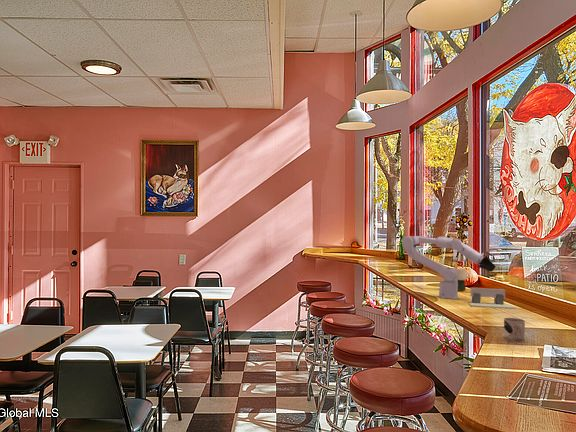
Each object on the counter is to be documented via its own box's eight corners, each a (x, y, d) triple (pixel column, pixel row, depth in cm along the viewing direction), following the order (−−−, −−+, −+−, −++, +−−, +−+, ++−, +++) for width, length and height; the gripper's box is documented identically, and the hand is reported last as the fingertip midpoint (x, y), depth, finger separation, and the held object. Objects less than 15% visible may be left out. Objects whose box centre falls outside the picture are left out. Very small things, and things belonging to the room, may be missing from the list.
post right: (497, 305, 234) (497, 295, 234) (494, 303, 240) (494, 293, 240) (503, 305, 234) (503, 295, 234) (500, 303, 239) (500, 293, 240)
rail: (471, 296, 238) (471, 288, 238) (470, 295, 241) (470, 287, 241) (505, 298, 235) (505, 290, 235) (503, 297, 238) (503, 289, 238)
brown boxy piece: (474, 303, 236) (474, 293, 236) (471, 301, 242) (471, 292, 242) (480, 304, 236) (480, 294, 236) (477, 302, 242) (478, 292, 242)
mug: (500, 335, 170) (501, 317, 170) (519, 336, 170) (519, 318, 170) (513, 342, 160) (513, 323, 160) (532, 343, 160) (533, 324, 160)
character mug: (468, 290, 284) (468, 268, 284) (470, 291, 277) (471, 270, 277) (449, 289, 286) (450, 268, 286) (451, 291, 279) (452, 269, 279)
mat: (471, 306, 228) (471, 305, 228) (468, 304, 235) (468, 302, 235) (514, 308, 225) (515, 307, 225) (510, 306, 232) (510, 305, 232)
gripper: (476, 245, 243) (500, 261, 238) (474, 250, 257) (496, 265, 251) (468, 256, 243) (491, 271, 238) (466, 260, 256) (488, 275, 251)
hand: (493, 269), depth 245 cm, fingers open, 7 cm apart
